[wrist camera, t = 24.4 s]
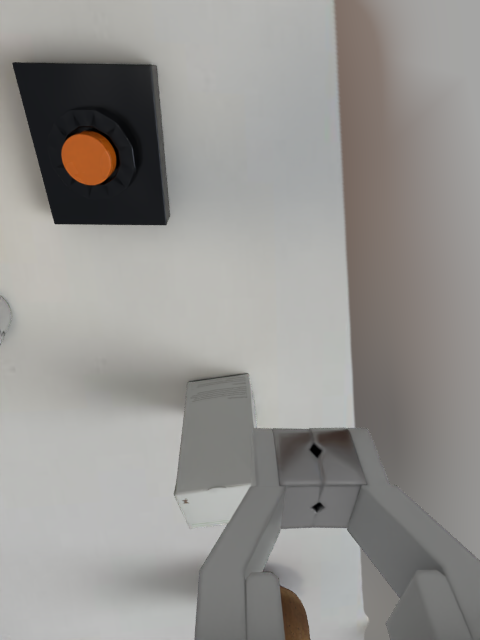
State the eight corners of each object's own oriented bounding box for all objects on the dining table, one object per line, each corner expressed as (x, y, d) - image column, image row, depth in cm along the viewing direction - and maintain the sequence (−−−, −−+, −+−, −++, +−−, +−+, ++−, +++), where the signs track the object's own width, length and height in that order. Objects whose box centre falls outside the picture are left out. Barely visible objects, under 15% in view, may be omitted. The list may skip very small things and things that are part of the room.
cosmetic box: (196, 414, 51) (185, 531, 38) (185, 378, 48) (169, 494, 35) (258, 407, 51) (267, 523, 38) (251, 370, 47) (259, 485, 34)
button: (64, 130, 29) (55, 133, 27) (112, 130, 29) (106, 134, 27) (75, 179, 31) (67, 185, 29) (120, 180, 31) (114, 185, 29)
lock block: (26, 62, 29) (0, 62, 26) (156, 65, 29) (147, 64, 26) (64, 215, 36) (47, 230, 33) (170, 216, 36) (163, 231, 33)
